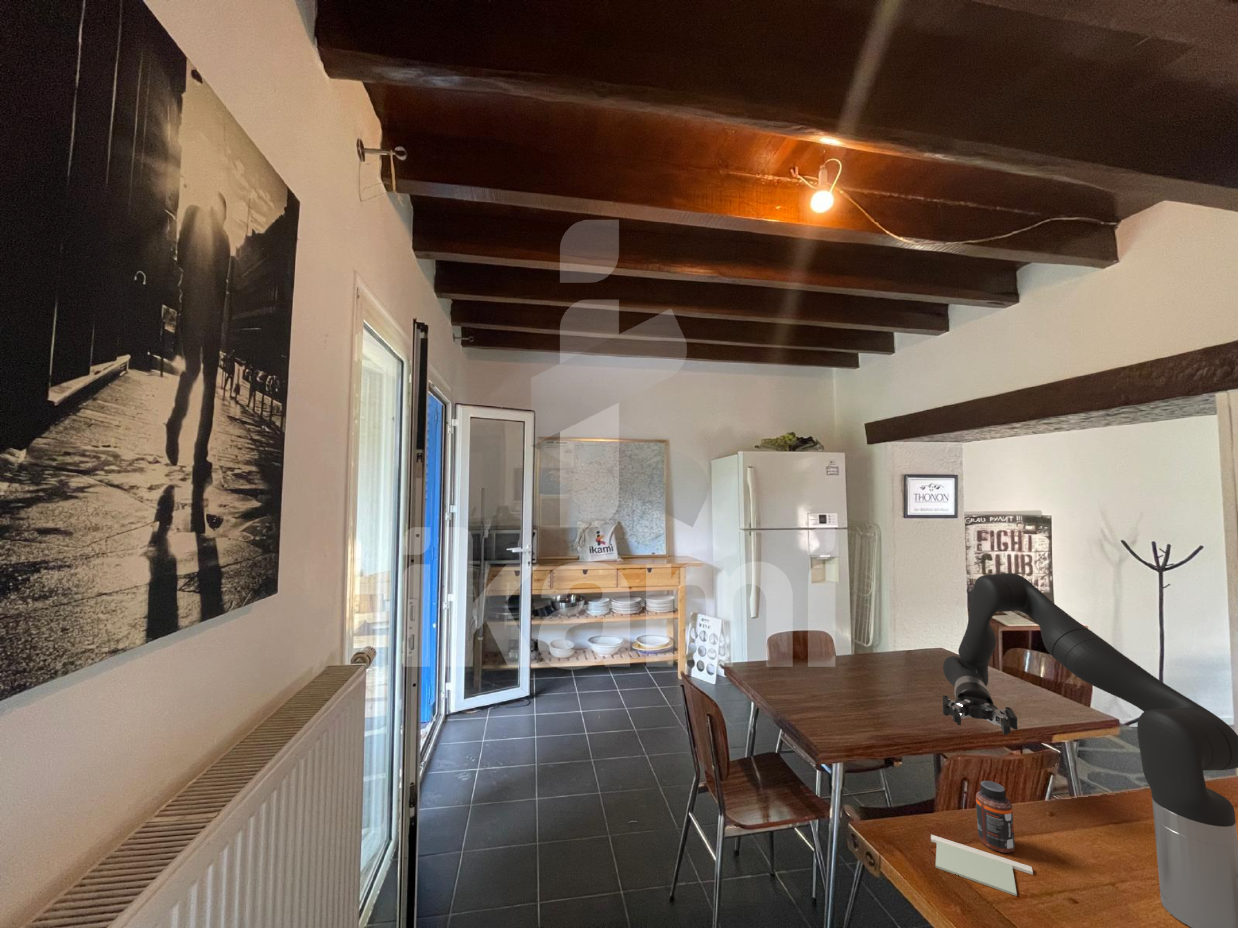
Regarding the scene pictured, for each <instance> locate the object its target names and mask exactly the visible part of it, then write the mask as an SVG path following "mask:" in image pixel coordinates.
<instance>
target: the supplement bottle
mask: <svg viewBox="0 0 1238 928" xmlns="http://www.w3.org/2000/svg"><path fill="white" fill-rule="evenodd" d="M975 804H976V805H975V808H976V820H977V823H976V824H977V834H978V838H979V840H980V842H981V843H982V844H983V845H985V846H986V847H987V848H989V849H991V850H993V851H996V852H998V853H1004V854H1008V853H1010V854H1011V853H1013V852H1014V851H1015V849H1016V848H1015V847H1016V843H1015V842H1016V841H1015V827H1014V814H1013V813H1014V812H1013V805H1012V802H1011V801H1010V799H1008V798H1007V796H1006V789H1005V787H1004V786H1003V785H1001V784H999V783H997V782H995V781H990V780H983V781H981V782H980V790H979V791H977V792H976V794H975Z"/></svg>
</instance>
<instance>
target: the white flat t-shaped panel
mask: <svg viewBox="0 0 1238 928" xmlns="http://www.w3.org/2000/svg"><path fill="white" fill-rule="evenodd" d="M930 842H931V843H935V844H936V848H935V850H936V851H935V868H936V869H939V870H941V871H944V872H947V873H949V874H953V875H955V874H956V876H958V875H959V876H958V877H961V878H965V879H967V880H970V881H972V882H975V883H979V884H981V885H984V886H986V887H987V886H988V887H990V888H993V889H996V890H998V891H1002V892H1004V893H1007V894H1009V895H1012V896H1015V897H1017V896H1018V895H1017V894H1018V893H1017V888H1016V881H1015V875H1014V870H1016V871H1019V872H1023V873H1026V874H1029V875H1034V872H1033V867H1032V866H1031V865H1028V864H1025V863H1024V864H1023V863H1021V862H1019V861H1018V862H1017V861H1016V860H1015V861H1014V860H1011V859H1009V858H1006V857H1002V856H1000V855H997V854H993V853H989V852H986V851H985V850H980V849H977V848H975V847H972V846H968V845H966V844H962V843H959V842H955V841H953V840H949V839H946V838H943V837H940V836H937V835H934V834H930Z"/></svg>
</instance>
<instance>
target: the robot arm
mask: <svg viewBox="0 0 1238 928" xmlns="http://www.w3.org/2000/svg"><path fill="white" fill-rule="evenodd" d="M969 603H970V604H969V612H968V618H967V619H968V622H967V625H966V630H965V632H964V635H963V637H962V640H961V641H960V645H959V647H958V652H957V653H958V656H956V655H951V656H947V657H946V658H945V660H944V662H943V664H942V670H943V674H944V677H945V679H946V680H947V681H948V682H949V683H950V685H952V686H953V687H954V697H955V700H953V699H951V698H949V696H948V695H942V715H944V716H945V717H946V716H951V718H952V721H953V722H954V723H956V725H957V726H962V720H963V719H967V718H972V719H976V720H984V721H987V722H989V723H991V724H992V725H994V726H997V725H998V726H999V727H1000V728H1001V731H1002V734H1003V735H1005V736H1009V734H1011V731H1012V729H1013V730H1018V728H1019V727H1018V717H1017V715H1016V713H1015V711H1014V710H1013V709H1012V708H1011V707H1009V706H1005V707H1004V709H1002V708H998V707H997V706H996V705H995V704H994V701H993V698H992V696H991V694H990V691H989V689H988V684H989V663H990V660H991V657H992V656H993V653H994V651H995V648H996V645H997V638H996V634H995V632H994V629H993V627H992V625H991V623H990V622H991V620H992V618H993V617H994V615H996V613H1001V612H1002V613H1003V612H1005V613H1006V612H1021V613H1022V614H1025V615H1026V616H1028V617H1029V618H1030V619H1031V620H1033V621H1034V622H1035V623H1036V624H1037V625H1038V627H1039V631H1040V635H1041V639H1042V640H1041V641H1042V642H1043V645H1044V648H1045V649H1046V650H1047V652H1048V653H1049V654H1050V656H1052V658H1054V659H1055V660H1056V661H1057V662H1058V663H1059V664H1061V665H1062V666H1063V667H1064V668H1065V669H1066V670H1067V671H1069V673H1071V674H1073V675H1074V676H1075V677H1077V678H1079V679H1080V680H1081V681H1083V682H1085V683H1086V684H1089V685H1091V686H1093V687H1095V688H1097V689H1100V690H1101V691H1103V692H1106V693H1108V694H1110V695H1113V696H1114V697H1116V698H1119V699H1121V700H1123V701H1125V702H1126V703H1129V704H1130V705H1132V706H1135V708H1137V709H1139V710H1141V711H1142V713H1141V714H1140V715H1139V717H1138V720H1137V725H1136V727H1137V729H1136V730H1137V740H1138V745H1139V746H1138V748H1139V752H1140V753H1139V754H1140V760H1141V766H1142V767H1141V768H1142V772H1143V775H1144V779H1145V780H1146V782H1147V784H1148V786H1149V788H1150V791H1151V800H1152V801H1151V802H1152V813H1153V825H1154V837H1155V847H1156V848H1155V849H1156V858H1157V860H1156V861H1157V870H1158V871H1157V872H1158V877H1159V878H1158V880H1159V881H1158V882H1159V887H1158V888H1159V893H1160V895H1159V896H1160V901H1161V905H1162V906H1163V907H1164V909H1165V910H1166V911H1167V912H1168V913H1169V914H1170V915H1171V916H1172V917H1174V918H1175V919H1177V921H1178V920H1179V922H1181V923H1183V924H1184V925H1186V926H1188V927H1190V928H1238V832H1237V831H1238V830H1237V823H1236V821H1237V820H1236V811H1235V807H1234V806H1233V804H1232V803H1231V801H1230V800H1229V799H1227V798H1226V797H1225V796H1224V795H1222V794H1220V793H1218V792H1216V791H1215V790H1213V789H1210V788H1208V787H1207V785H1206V781H1205V775H1204V771H1227V770H1228V771H1229V770H1235V769H1238V734H1237V733H1236V731H1235V730H1234V729H1233V728H1232V727H1231V726H1230V725H1229V724H1228V723H1226V722H1225V721H1224V720H1223V719H1221V718H1220V717H1219V716H1217V715H1216V714H1215V713H1213V712H1211V711H1210V710H1209V709H1206V708H1205V707H1204V706H1201V704H1199V703H1197V702H1195V701H1194V700H1192V699H1190V698H1189V697H1187V696H1185V695H1184V694H1182V693H1181V692H1179V691H1177V690H1175V689H1174V688H1172V687H1170V686H1169V685H1167V684H1166V683H1164V682H1163V681H1161V679H1159V678H1157V677H1155V676H1154V675H1152V674H1151V673H1150V672H1148V671H1147V670H1146V669H1144V668H1143V667H1141V666H1140V665H1139V664H1137V663H1136V662H1134V661H1133V660H1132V659H1130V658H1129V657H1128V656H1126V655H1125V654H1123V653H1122V652H1120V651H1119V650H1118V649H1117V648H1115V647H1114V646H1112V645H1111V644H1110V643H1109V642H1107V641H1106V640H1105V639H1103V638H1102V637H1100V636H1099V635H1097V634H1096V633H1095V632H1093V631H1092V630H1091V629H1089V628H1088V627H1086V626H1084V625H1083V624H1082V623H1080V622H1079V621H1078V620H1076V619H1075V618H1074V617H1072V616H1071V615H1070V614H1068V613H1067V612H1066V611H1065V610H1063V609H1062V608H1061V607H1059V606H1058V605H1057V604H1055V603H1054V602H1053V601H1052V600H1051V599H1050V598H1049V597H1047V596H1046V594H1044V593H1043V592H1042V591H1041V590H1040V589H1039V588H1037V587H1036V586H1035V585H1034V584H1033V583H1032V582H1031V581H1029V580H1028V579H1026V578H1025V577H1024V576H1021V575H1020V574H1018V573H1012V572H1007V573H1006V572H1005V573H1003V572H1002V573H993V574H985V575H980V576H978V578H976V580H975V581H974V584H973V587H972V592H971V598H970V602H969Z"/></svg>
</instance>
